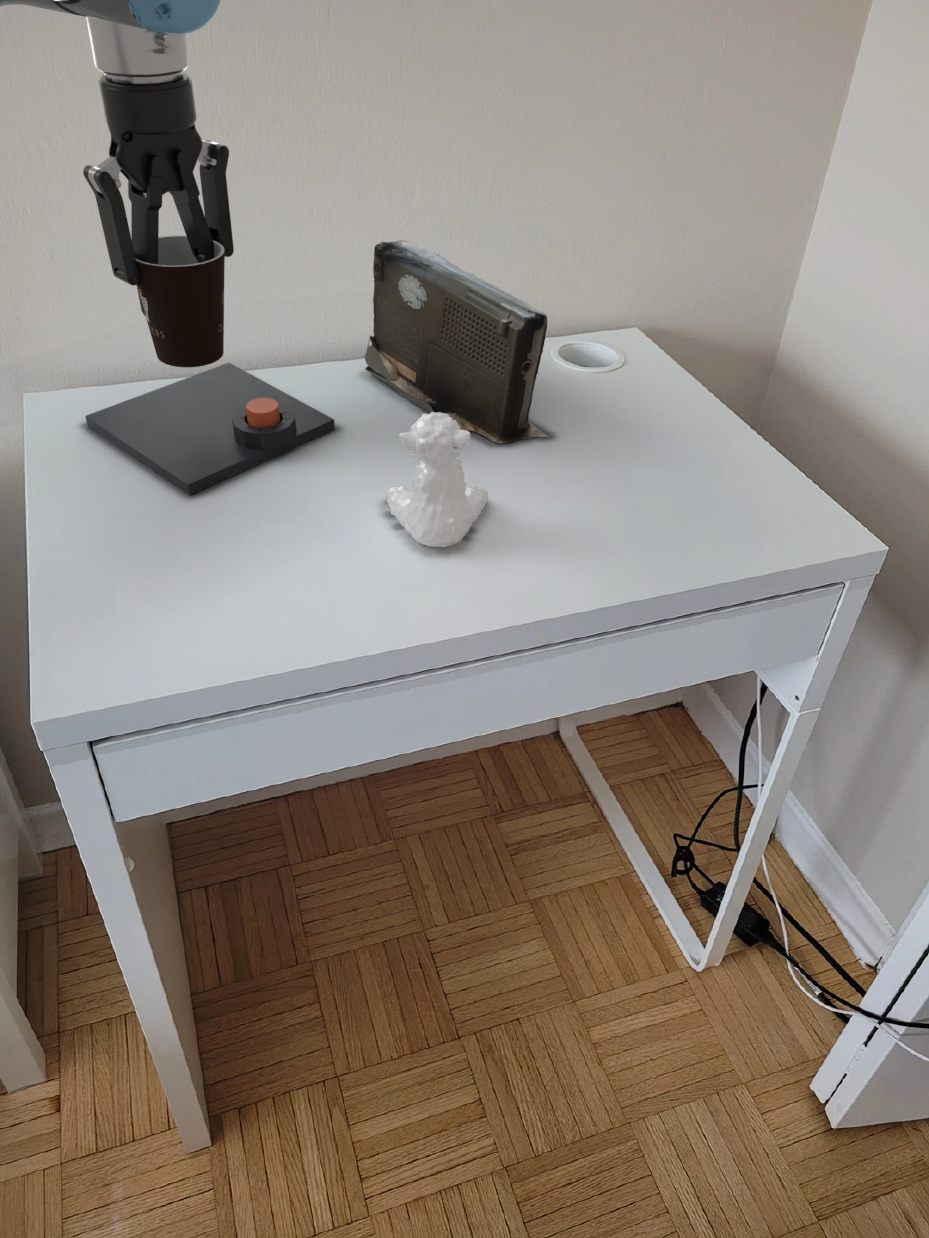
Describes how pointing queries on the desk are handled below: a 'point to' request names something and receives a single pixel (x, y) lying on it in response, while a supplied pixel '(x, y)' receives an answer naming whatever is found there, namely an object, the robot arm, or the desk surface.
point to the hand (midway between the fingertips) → (188, 339)
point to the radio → (454, 342)
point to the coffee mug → (184, 303)
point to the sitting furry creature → (436, 484)
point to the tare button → (263, 412)
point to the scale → (206, 427)
